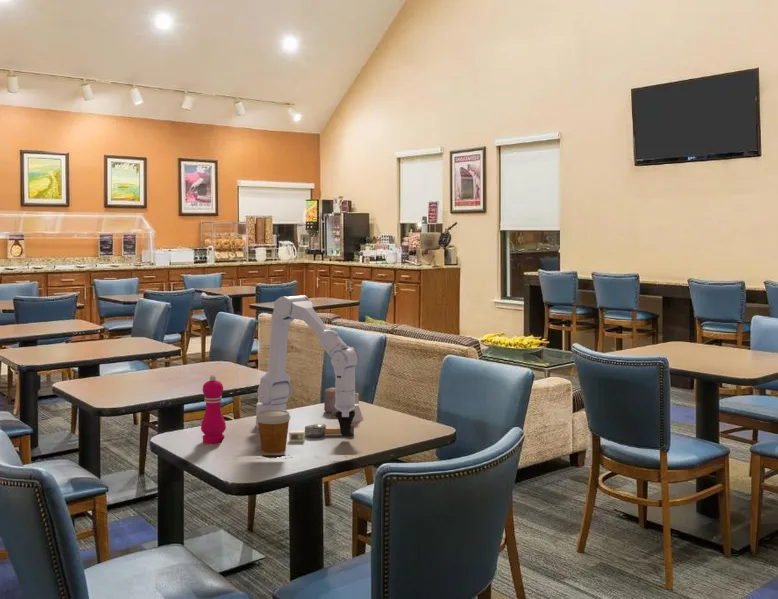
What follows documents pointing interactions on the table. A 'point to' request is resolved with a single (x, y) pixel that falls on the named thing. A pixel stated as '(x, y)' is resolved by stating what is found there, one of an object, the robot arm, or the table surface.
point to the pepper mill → (213, 412)
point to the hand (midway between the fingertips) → (345, 435)
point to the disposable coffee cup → (273, 431)
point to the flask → (357, 411)
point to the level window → (297, 436)
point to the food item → (330, 401)
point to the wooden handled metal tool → (324, 431)
